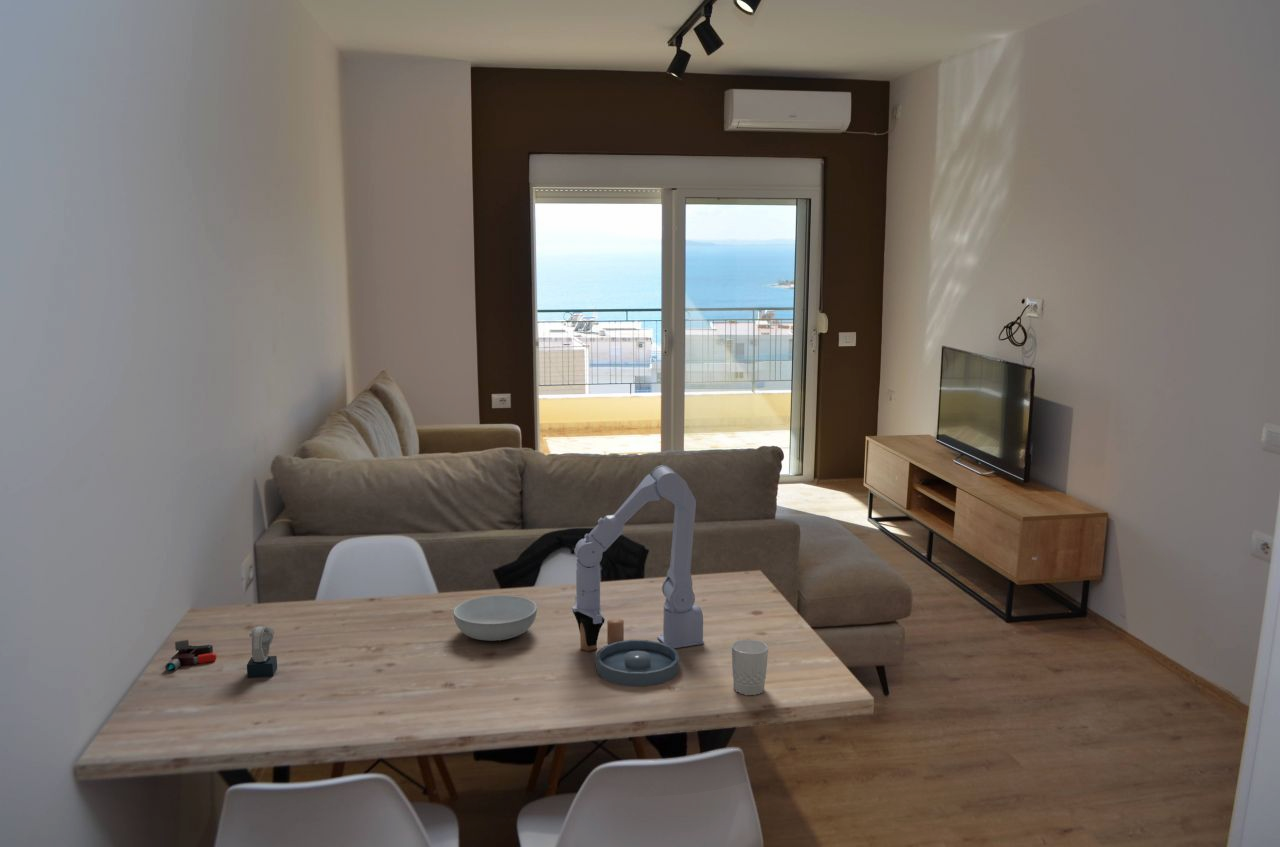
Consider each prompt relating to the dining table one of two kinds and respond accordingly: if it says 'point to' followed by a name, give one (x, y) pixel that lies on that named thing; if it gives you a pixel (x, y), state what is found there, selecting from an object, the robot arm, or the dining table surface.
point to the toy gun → (190, 655)
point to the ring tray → (637, 662)
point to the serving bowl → (495, 617)
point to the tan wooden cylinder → (583, 640)
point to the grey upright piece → (261, 653)
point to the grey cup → (749, 666)
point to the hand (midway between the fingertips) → (588, 641)
